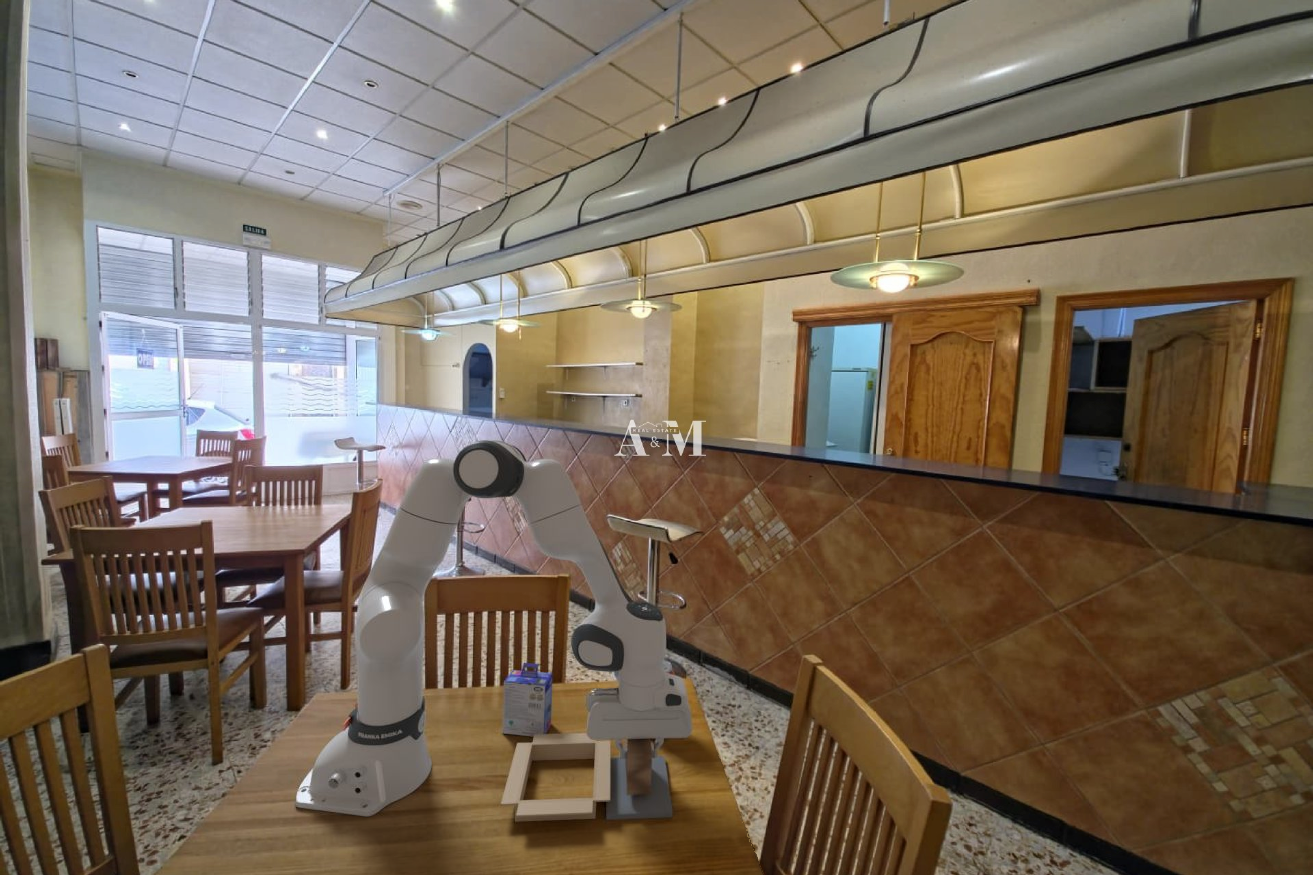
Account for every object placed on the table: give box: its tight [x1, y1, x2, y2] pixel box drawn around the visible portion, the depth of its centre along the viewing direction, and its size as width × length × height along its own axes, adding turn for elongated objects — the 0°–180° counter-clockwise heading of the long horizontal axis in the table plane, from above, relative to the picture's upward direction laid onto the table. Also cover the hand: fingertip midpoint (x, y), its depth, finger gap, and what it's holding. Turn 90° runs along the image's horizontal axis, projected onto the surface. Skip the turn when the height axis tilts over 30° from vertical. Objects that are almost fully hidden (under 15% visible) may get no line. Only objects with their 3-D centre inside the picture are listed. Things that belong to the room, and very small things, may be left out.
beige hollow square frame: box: [500, 732, 611, 823], centre depth 95 cm, size 19×20×4 cm
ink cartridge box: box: [501, 662, 553, 738], centre depth 110 cm, size 10×6×14 cm, turn 84°
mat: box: [605, 755, 674, 821], centre depth 95 cm, size 12×14×1 cm
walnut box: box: [625, 738, 652, 795], centre depth 95 cm, size 4×9×8 cm, turn 5°
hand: (638, 755), depth 95 cm, fingers closed on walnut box, 4 cm apart
